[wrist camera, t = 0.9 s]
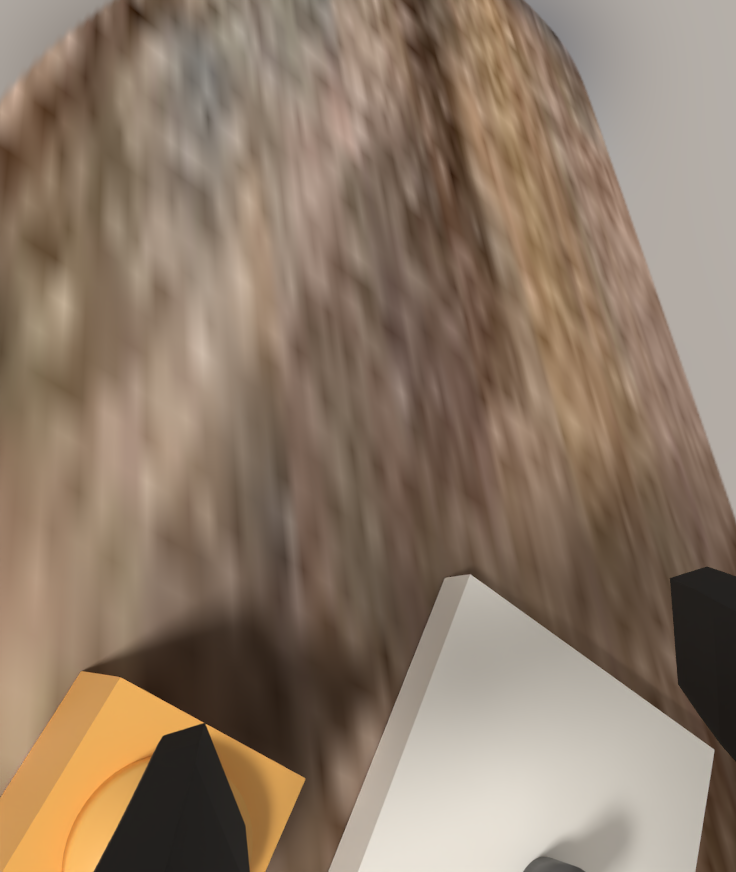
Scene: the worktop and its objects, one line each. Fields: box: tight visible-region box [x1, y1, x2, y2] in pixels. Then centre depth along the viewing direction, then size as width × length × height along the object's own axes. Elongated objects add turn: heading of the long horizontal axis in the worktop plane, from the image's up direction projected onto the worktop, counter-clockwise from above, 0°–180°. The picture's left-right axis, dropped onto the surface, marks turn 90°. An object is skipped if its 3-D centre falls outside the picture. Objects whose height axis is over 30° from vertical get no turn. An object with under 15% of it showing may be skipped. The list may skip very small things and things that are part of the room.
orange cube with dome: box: [0, 671, 306, 872], centre depth 16 cm, size 5×5×6 cm
